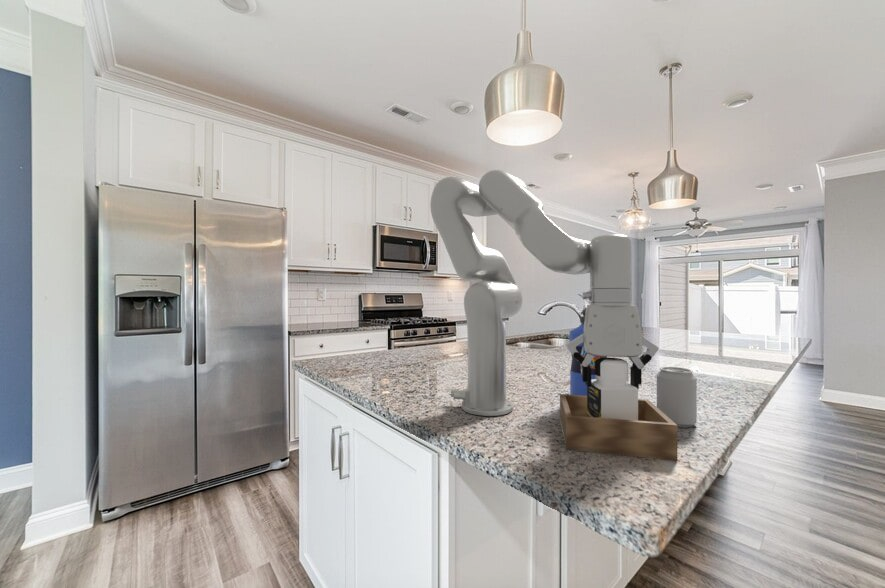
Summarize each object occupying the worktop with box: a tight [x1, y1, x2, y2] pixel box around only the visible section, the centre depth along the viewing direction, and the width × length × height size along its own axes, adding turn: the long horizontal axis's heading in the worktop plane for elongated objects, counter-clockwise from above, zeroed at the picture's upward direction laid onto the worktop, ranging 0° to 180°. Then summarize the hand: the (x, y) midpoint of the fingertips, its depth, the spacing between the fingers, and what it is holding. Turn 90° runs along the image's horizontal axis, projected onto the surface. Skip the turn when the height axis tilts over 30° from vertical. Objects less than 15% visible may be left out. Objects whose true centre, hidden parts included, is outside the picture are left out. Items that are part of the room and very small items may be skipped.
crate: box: [559, 393, 678, 461], centre depth 73 cm, size 18×16×6 cm
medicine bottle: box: [587, 357, 639, 421], centre depth 73 cm, size 7×7×12 cm
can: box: [656, 366, 698, 428], centre depth 82 cm, size 8×8×12 cm
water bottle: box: [569, 307, 605, 396], centre depth 93 cm, size 9×9×25 cm
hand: (611, 386), depth 73 cm, fingers closed on medicine bottle, 8 cm apart
